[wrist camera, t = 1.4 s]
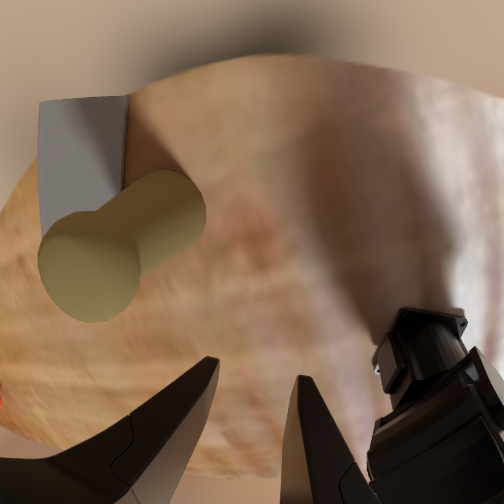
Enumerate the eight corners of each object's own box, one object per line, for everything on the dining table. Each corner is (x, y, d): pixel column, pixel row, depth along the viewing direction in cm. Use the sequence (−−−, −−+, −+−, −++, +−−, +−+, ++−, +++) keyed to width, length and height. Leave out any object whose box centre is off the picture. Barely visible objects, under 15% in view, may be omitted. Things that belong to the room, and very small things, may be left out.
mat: (129, 96, 19) (126, 95, 18) (126, 297, 25) (124, 300, 25) (42, 102, 20) (39, 102, 19) (50, 274, 26) (48, 276, 26)
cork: (120, 177, 21) (5, 226, 11) (196, 161, 20) (96, 203, 10) (140, 255, 23) (49, 338, 13) (214, 248, 22) (143, 347, 12)
